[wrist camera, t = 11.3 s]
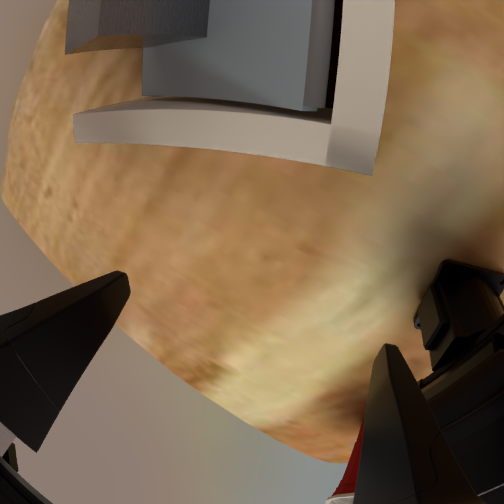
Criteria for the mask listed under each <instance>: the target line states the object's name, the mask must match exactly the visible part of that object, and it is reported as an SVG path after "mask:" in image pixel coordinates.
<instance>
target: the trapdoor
mask: <svg viewBox="0 0 504 504" xmlns="http://www.w3.org/2000/svg"><path fill="white" fill-rule="evenodd" d="M334 4H335V0H210V6H209V17H208V30H207V38H200V39H193V40H187V41H181V42H175V43H170V44H165V45H160V46H155V47H151V48H143V68H142V96H180V97H197V98H211V99H222V100H231V101H240V102H248V103H256V104H263V105H269V106H276V107H282V108H288V109H293V110H299V111H317V108H325V102H326V93H327V84H328V75H329V65H330V55H331V44H332V32H333V19H334Z"/></svg>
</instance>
